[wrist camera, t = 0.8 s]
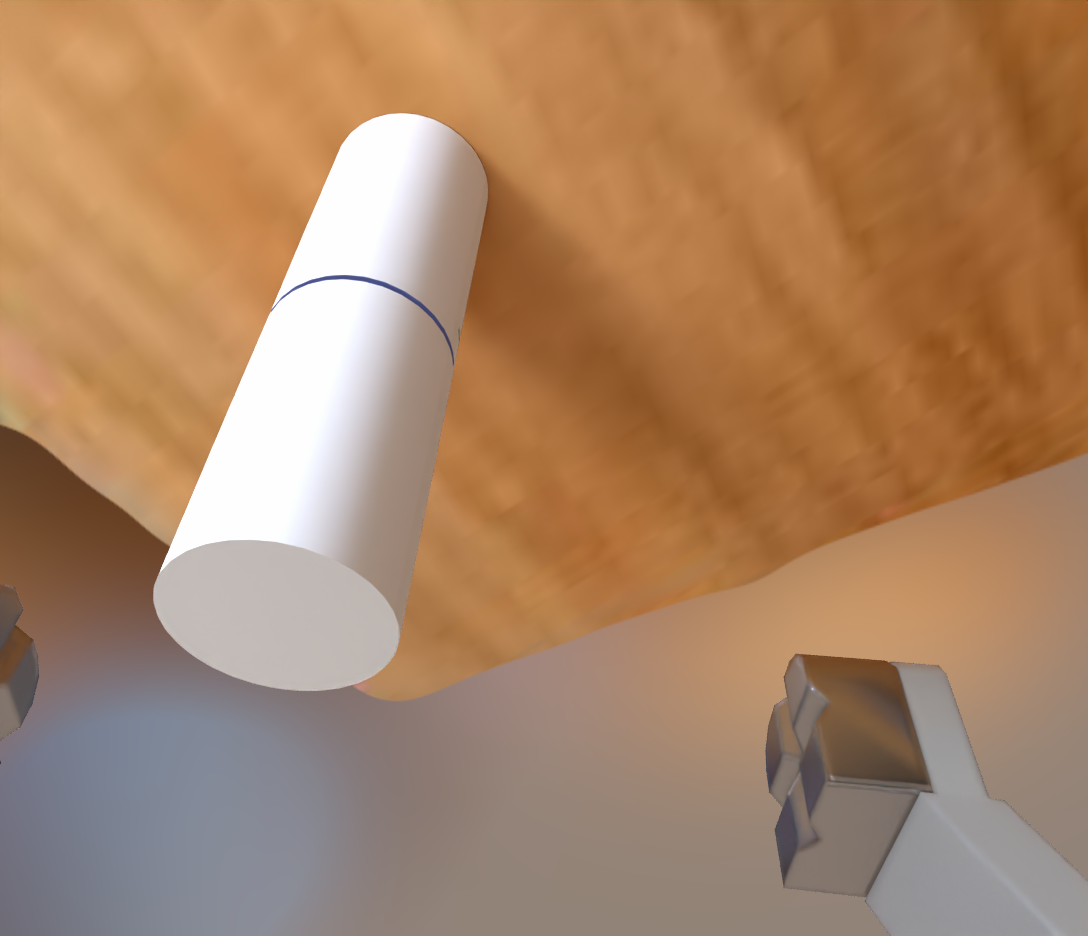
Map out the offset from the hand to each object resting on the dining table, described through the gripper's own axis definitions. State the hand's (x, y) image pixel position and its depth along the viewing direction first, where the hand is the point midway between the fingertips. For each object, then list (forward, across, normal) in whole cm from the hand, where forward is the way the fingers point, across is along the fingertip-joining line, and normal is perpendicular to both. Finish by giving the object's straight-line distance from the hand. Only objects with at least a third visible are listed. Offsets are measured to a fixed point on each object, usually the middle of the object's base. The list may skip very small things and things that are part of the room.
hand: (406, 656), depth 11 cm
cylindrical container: (+38, +5, +11) cm, 40 cm away
